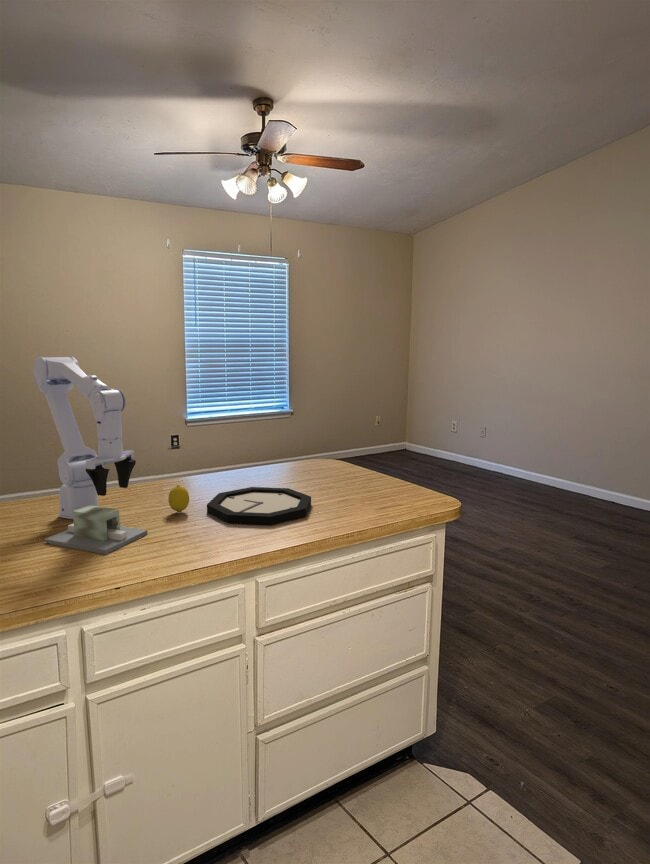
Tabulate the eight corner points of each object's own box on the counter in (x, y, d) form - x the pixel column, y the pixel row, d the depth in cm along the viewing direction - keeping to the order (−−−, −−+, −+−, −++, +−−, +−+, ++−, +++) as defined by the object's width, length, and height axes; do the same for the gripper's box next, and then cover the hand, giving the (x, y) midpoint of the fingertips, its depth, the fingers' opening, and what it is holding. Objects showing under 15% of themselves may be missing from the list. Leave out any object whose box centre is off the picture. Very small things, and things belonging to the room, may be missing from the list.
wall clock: (331, 495, 158) (275, 524, 132) (331, 504, 158) (275, 535, 132) (248, 482, 172) (183, 506, 146) (248, 490, 172) (184, 516, 146)
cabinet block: (74, 535, 127) (72, 511, 126) (91, 528, 131) (89, 505, 130) (108, 541, 123) (106, 516, 122) (124, 534, 128) (122, 510, 127)
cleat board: (44, 543, 124) (44, 532, 124) (90, 524, 137) (89, 515, 137) (105, 554, 118) (105, 543, 118) (147, 534, 131) (147, 524, 130)
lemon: (168, 510, 149) (167, 483, 148) (188, 509, 151) (187, 481, 150) (169, 516, 144) (168, 488, 143) (190, 514, 146) (189, 486, 145)
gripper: (100, 444, 124) (104, 500, 126) (142, 434, 137) (145, 485, 139) (77, 442, 126) (81, 497, 129) (120, 433, 140) (123, 483, 142)
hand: (112, 491), depth 134 cm, fingers open, 7 cm apart
